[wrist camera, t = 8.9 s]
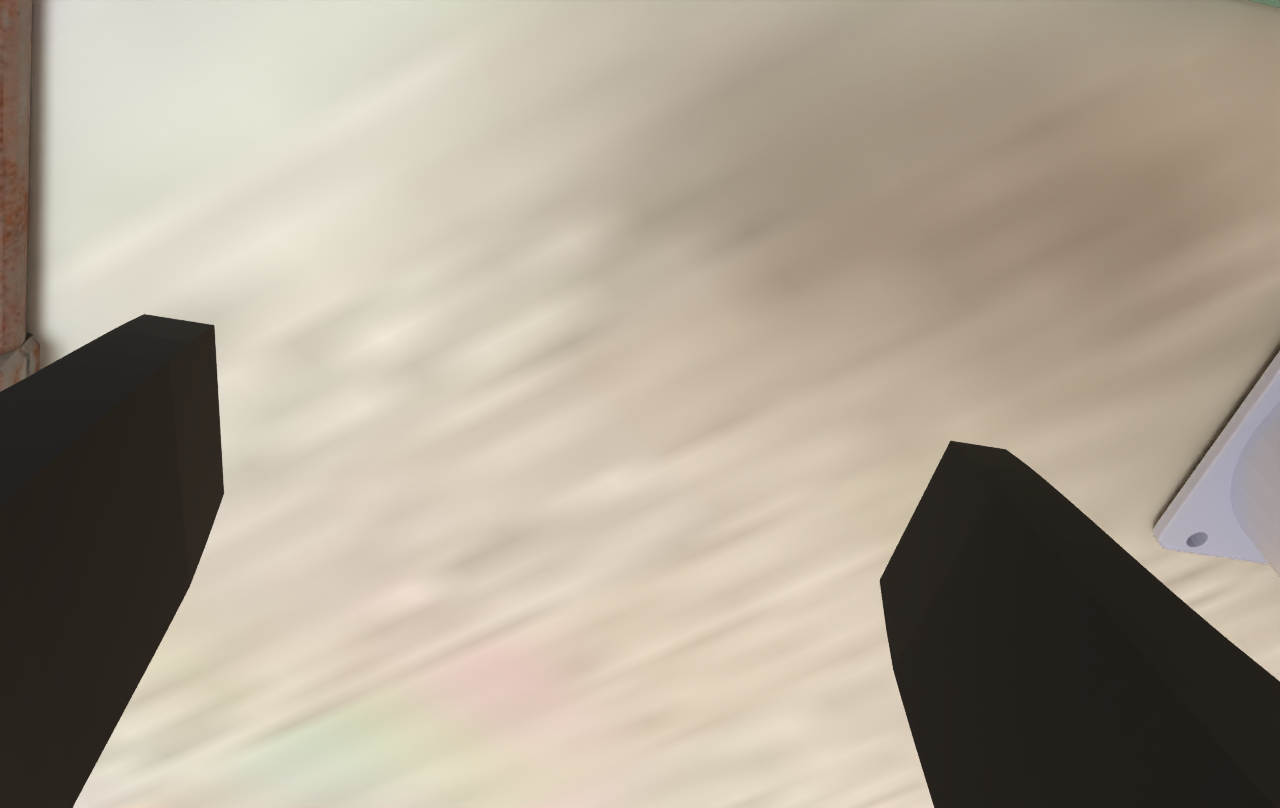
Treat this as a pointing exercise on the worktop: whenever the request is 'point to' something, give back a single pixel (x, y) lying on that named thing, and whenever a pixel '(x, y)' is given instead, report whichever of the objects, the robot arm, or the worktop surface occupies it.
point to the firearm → (15, 191)
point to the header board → (1269, 2)
